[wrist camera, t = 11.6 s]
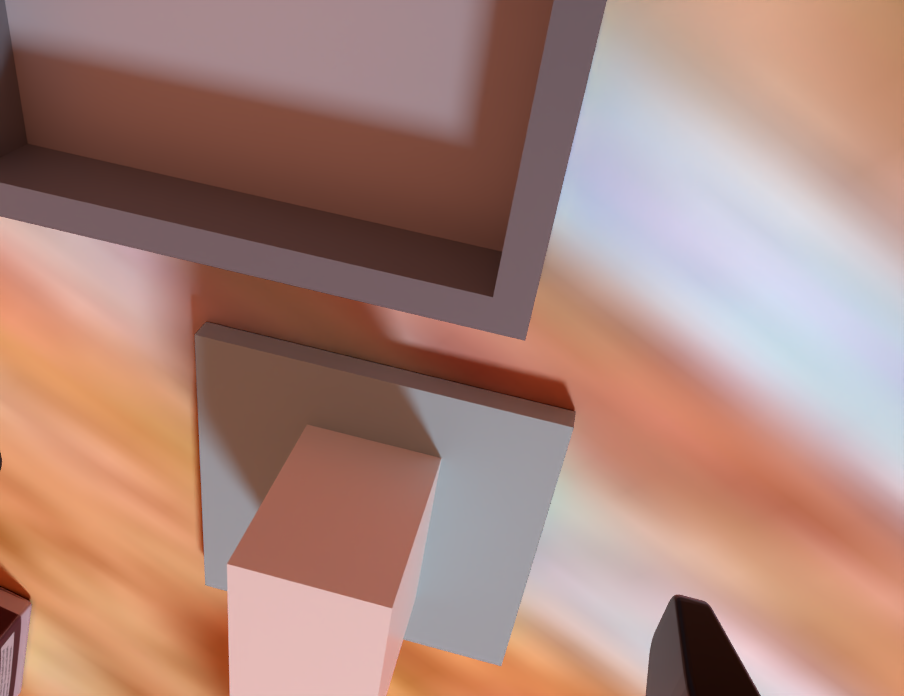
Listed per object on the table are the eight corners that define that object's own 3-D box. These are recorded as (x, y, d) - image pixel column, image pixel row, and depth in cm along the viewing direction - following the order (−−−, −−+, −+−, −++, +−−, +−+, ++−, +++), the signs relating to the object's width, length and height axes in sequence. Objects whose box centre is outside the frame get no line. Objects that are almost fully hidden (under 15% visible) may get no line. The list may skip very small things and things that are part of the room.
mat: (575, 411, 24) (573, 427, 24) (504, 648, 31) (500, 666, 30) (206, 321, 25) (194, 334, 25) (214, 569, 32) (205, 585, 32)
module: (441, 457, 25) (392, 608, 20) (415, 598, 29) (368, 753, 24) (306, 424, 26) (226, 563, 21) (299, 567, 30) (230, 713, 25)
